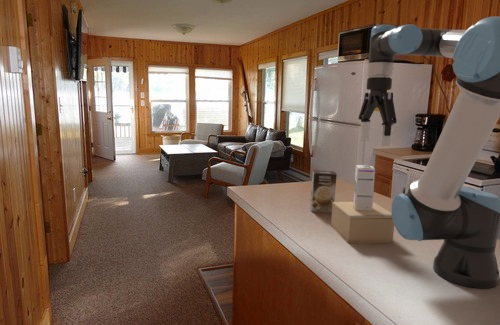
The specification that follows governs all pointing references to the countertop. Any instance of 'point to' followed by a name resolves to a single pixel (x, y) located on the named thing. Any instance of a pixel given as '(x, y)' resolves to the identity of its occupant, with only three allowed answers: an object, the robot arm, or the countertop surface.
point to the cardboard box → (362, 228)
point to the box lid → (356, 214)
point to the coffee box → (323, 191)
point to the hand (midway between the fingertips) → (373, 143)
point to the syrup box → (364, 187)
